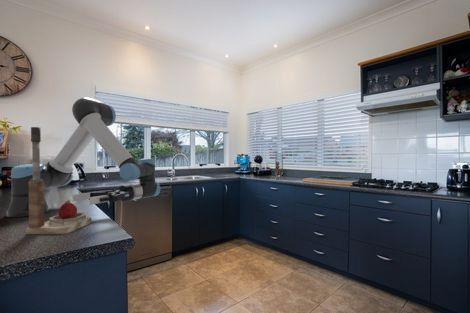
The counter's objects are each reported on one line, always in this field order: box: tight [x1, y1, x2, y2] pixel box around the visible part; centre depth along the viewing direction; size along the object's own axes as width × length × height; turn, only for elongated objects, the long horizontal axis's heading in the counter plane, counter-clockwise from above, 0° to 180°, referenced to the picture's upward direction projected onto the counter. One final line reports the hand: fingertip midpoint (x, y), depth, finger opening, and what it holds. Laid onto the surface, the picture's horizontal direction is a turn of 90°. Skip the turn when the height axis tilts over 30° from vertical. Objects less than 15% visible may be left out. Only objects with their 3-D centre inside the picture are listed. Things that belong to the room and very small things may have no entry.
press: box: [25, 126, 92, 235], centre depth 90 cm, size 14×14×37 cm
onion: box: [57, 199, 78, 219], centre depth 91 cm, size 6×6×8 cm
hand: (81, 199), depth 95 cm, fingers open, 13 cm apart
